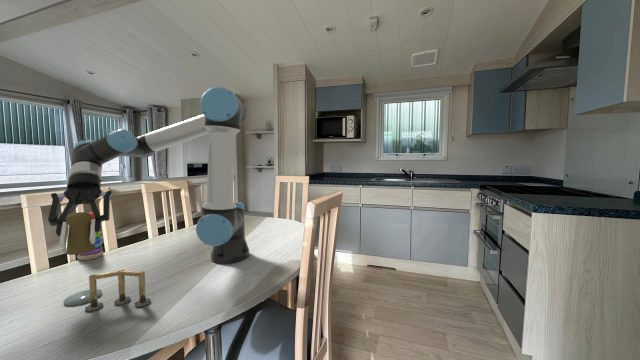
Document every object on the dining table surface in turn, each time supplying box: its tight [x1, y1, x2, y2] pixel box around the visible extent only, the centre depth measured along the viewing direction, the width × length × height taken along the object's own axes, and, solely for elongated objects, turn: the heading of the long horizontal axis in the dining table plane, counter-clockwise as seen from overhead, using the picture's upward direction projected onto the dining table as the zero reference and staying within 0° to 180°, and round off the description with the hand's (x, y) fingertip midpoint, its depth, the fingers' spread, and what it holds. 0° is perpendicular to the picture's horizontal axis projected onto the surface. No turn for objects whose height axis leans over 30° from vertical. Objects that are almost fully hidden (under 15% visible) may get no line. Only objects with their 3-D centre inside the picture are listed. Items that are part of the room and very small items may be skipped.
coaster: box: [63, 288, 103, 307], centre depth 71 cm, size 8×8×1 cm
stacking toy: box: [77, 211, 104, 261], centre depth 101 cm, size 8×8×19 cm
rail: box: [84, 269, 152, 313], centre depth 67 cm, size 15×8×9 cm, turn 121°
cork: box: [65, 211, 95, 256], centre depth 70 cm, size 6×6×11 cm
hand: (77, 243), depth 67 cm, fingers closed on cork, 5 cm apart
